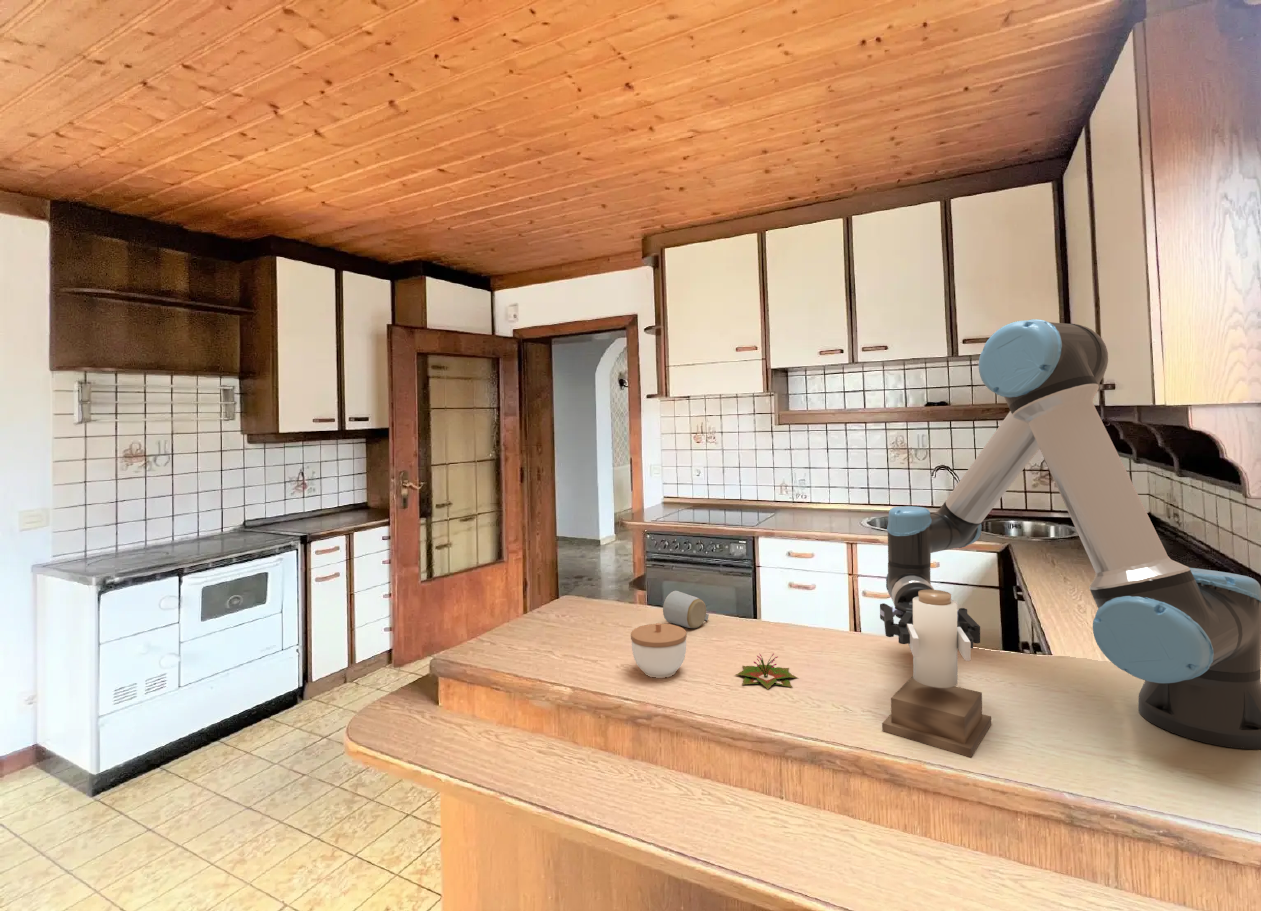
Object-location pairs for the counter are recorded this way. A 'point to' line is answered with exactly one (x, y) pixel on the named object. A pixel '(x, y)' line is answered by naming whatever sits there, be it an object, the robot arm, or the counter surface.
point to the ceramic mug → (684, 610)
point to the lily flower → (766, 669)
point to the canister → (935, 639)
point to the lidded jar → (659, 649)
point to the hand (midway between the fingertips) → (941, 649)
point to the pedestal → (938, 716)
